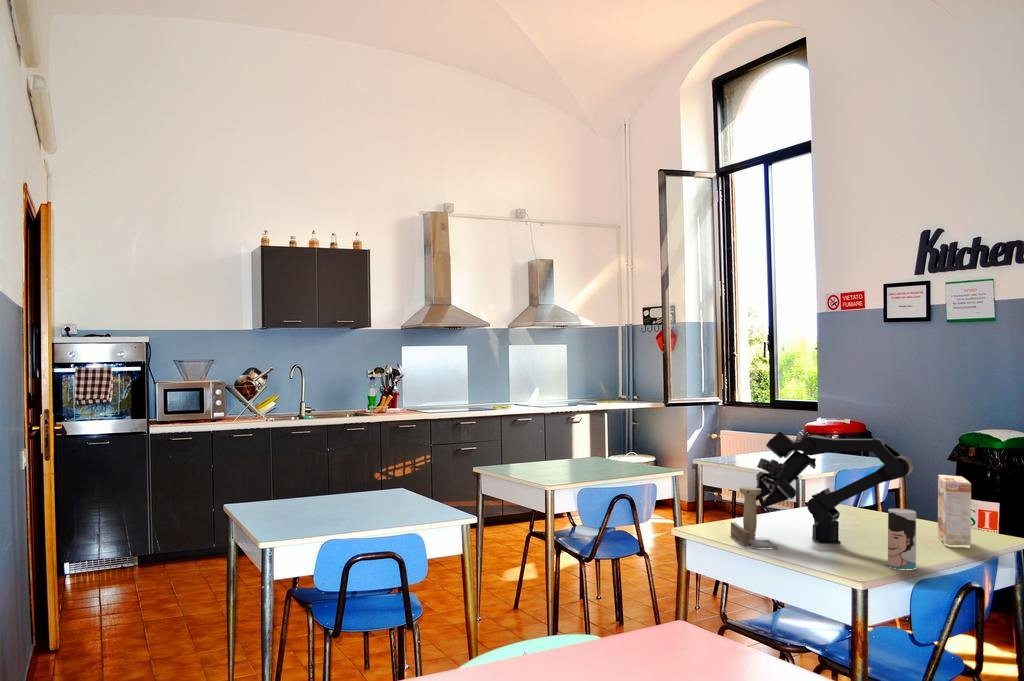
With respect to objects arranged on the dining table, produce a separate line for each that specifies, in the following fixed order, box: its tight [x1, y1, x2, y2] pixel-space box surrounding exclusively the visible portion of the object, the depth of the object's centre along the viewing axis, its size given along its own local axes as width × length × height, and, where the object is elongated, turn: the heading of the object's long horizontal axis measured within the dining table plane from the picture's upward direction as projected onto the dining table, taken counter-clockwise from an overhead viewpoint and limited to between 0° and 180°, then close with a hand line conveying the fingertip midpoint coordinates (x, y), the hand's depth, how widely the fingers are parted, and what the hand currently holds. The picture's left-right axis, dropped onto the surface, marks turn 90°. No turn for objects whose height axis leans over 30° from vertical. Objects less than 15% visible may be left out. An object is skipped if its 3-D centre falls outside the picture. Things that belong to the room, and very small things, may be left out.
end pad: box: [750, 539, 779, 550], centre depth 241 cm, size 7×8×1 cm
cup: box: [887, 507, 917, 570], centre depth 219 cm, size 7×7×15 cm
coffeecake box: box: [937, 474, 972, 547], centre depth 249 cm, size 15×7×20 cm, turn 160°
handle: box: [739, 486, 761, 539], centre depth 252 cm, size 5×6×15 cm
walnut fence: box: [730, 521, 751, 547], centre depth 247 cm, size 1×15×4 cm, turn 1°
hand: (756, 504), depth 253 cm, fingers open, 9 cm apart
